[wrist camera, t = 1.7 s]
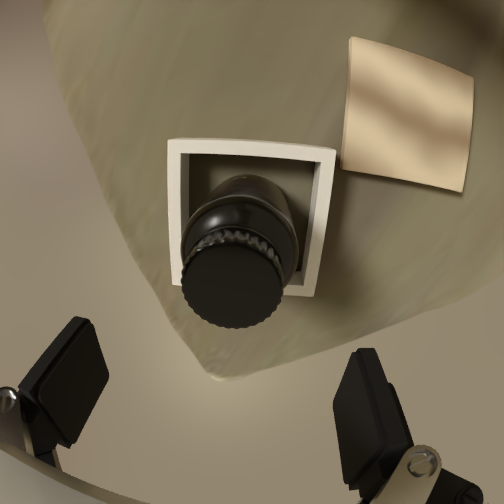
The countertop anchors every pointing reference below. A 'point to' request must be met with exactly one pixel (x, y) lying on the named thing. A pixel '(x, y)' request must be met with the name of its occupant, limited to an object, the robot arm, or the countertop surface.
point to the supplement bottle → (239, 252)
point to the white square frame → (323, 156)
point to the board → (406, 116)
